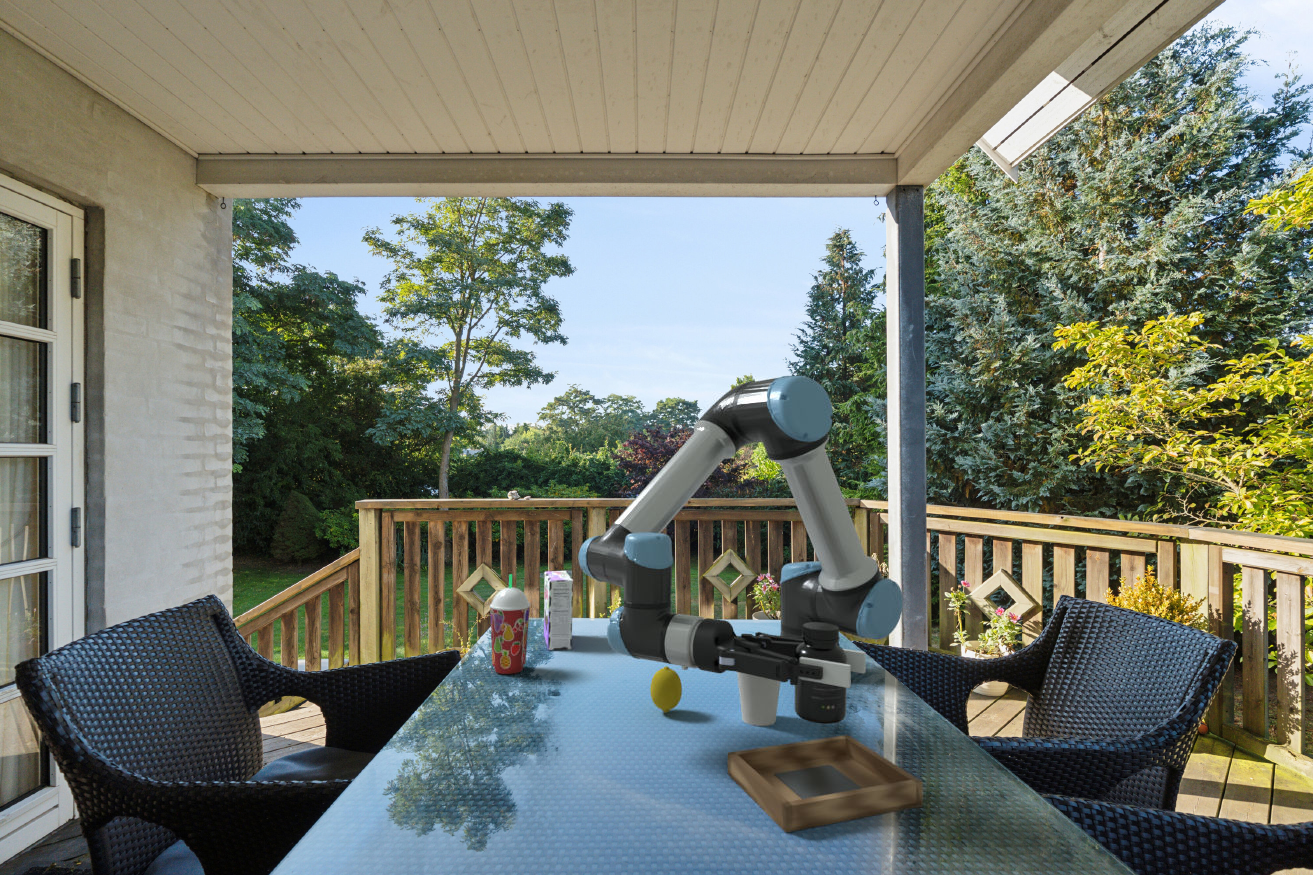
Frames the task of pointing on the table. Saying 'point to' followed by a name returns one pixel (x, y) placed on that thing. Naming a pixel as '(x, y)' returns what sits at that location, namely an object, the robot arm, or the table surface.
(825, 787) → the tray
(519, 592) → the smoothie
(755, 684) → the dixie cup
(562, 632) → the candy box
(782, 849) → the table surface
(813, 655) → the supplement bottle
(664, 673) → the lemon
